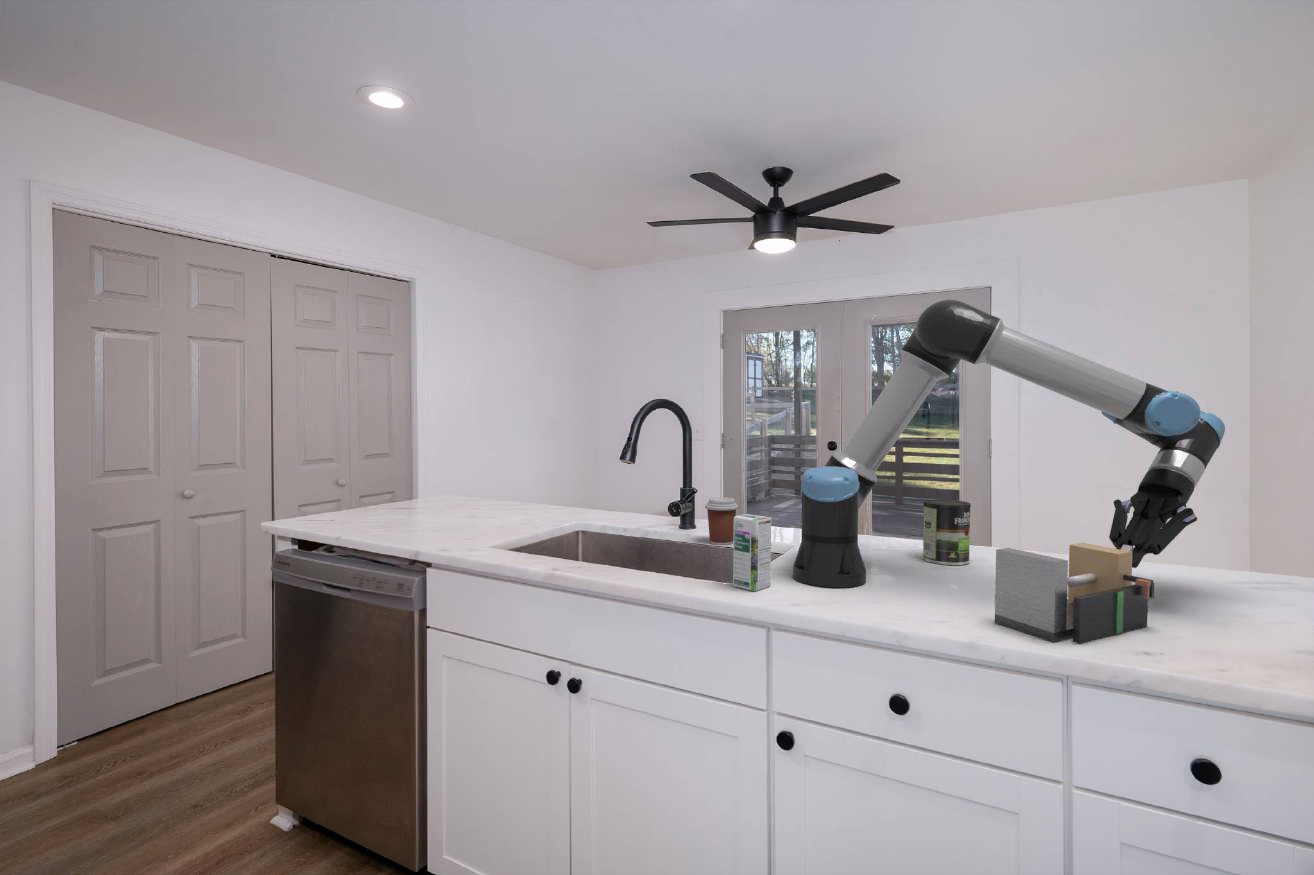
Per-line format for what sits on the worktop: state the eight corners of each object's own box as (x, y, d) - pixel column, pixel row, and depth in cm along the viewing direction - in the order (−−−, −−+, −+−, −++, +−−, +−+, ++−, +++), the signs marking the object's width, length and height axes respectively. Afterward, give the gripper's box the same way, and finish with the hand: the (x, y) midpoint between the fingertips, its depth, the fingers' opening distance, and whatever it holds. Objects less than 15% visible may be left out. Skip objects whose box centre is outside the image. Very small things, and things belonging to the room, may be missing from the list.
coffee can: (978, 561, 148) (979, 502, 147) (955, 568, 142) (956, 506, 141) (936, 553, 156) (937, 497, 155) (913, 559, 150) (914, 501, 149)
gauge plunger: (1081, 597, 113) (1083, 542, 113) (1159, 617, 102) (1161, 557, 102) (1046, 604, 109) (1047, 548, 108) (1123, 626, 98) (1124, 563, 97)
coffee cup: (729, 547, 163) (729, 502, 163) (698, 543, 168) (699, 499, 168) (743, 541, 171) (743, 498, 170) (713, 538, 176) (714, 495, 175)
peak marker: (1138, 595, 102) (1139, 578, 102) (1150, 598, 101) (1150, 581, 101) (1135, 596, 102) (1135, 579, 102) (1146, 599, 100) (1147, 582, 100)
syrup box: (731, 586, 127) (732, 516, 126) (749, 581, 131) (749, 512, 130) (754, 592, 123) (754, 519, 122) (772, 586, 127) (772, 516, 126)
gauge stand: (1076, 605, 114) (1077, 538, 114) (1152, 626, 103) (1154, 551, 102) (994, 622, 105) (996, 549, 104) (1069, 647, 94) (1071, 565, 93)
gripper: (1220, 497, 112) (1165, 601, 106) (1139, 489, 124) (1085, 582, 117) (1205, 469, 109) (1148, 573, 103) (1124, 463, 121) (1068, 557, 115)
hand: (1115, 578), depth 110 cm, fingers closed
